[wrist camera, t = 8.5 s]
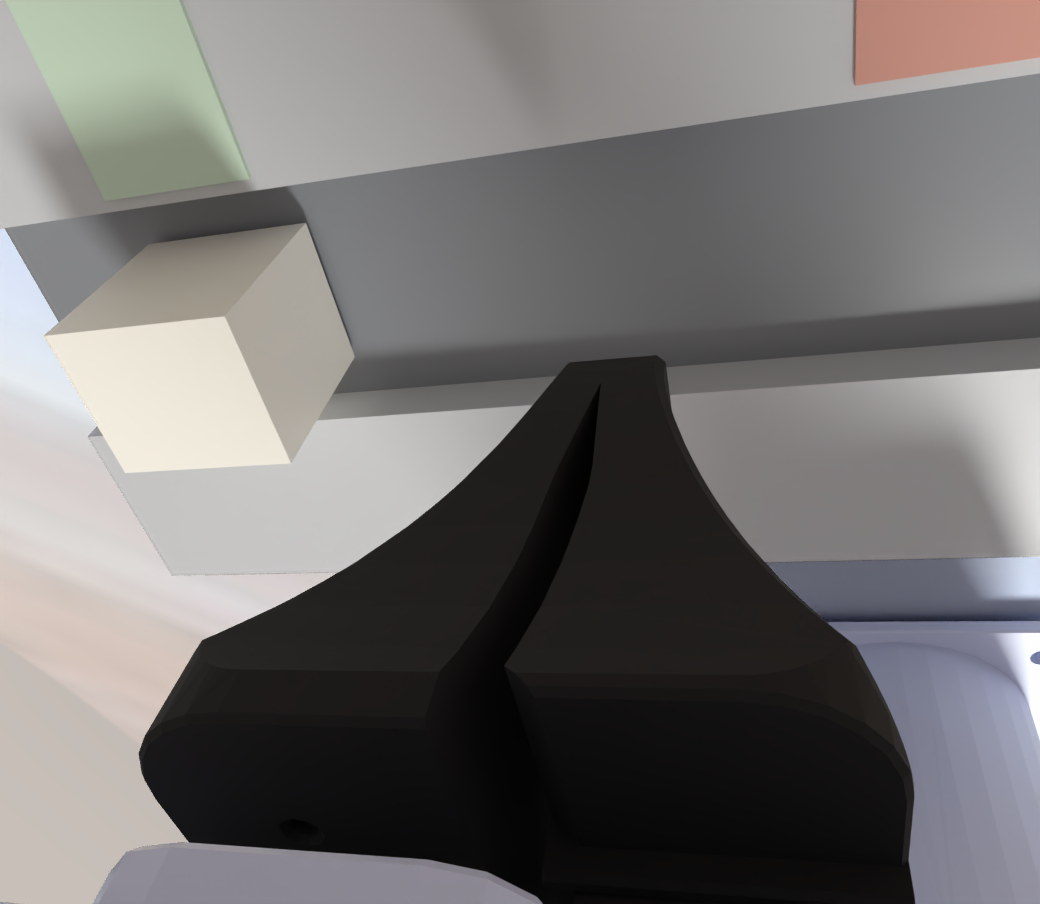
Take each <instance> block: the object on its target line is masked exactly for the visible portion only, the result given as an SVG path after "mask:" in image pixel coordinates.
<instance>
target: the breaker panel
mask: <svg viewBox="0 0 1040 904" xmlns="http://www.w3.org/2000/svg"><path fill="white" fill-rule="evenodd" d="M300 223H306V224H307V227H308V230H309V233H310V235H311V238H312V241H313V243H314V246H315V249H316V252H317V254H318V257H319V260H320V263H321V265H322V268H323V271H324V274H325V276H326V279H327V282H328V285H329V287H330V290H331V293H332V295H333V298H334V301H335V304H336V306H337V309H338V312H339V315H340V317H341V320H342V323H343V326H344V328H345V331H346V334H347V336H348V339H349V342H350V345H351V347H352V350H353V353H354V356H355V357H354V359H353V361H352V362H351V364H350V366H349V367H348V369H347V371H346V372H345V374H344V376H343V377H342V379H341V381H340V382H339V384H338V386H337V387H336V389H335V391H334V393H333V394H332V396H331V398H330V399H329V401H328V403H327V404H326V406H325V408H324V409H323V411H322V413H321V414H320V416H319V418H318V419H317V421H316V423H315V424H314V426H313V428H312V429H311V431H310V433H309V434H308V436H307V438H306V439H305V441H304V443H303V444H302V446H301V448H300V449H299V451H298V453H297V454H296V456H295V458H294V459H293V461H292V463H290V464H273V465H256V466H238V467H221V468H204V469H187V470H170V471H153V472H135V473H125V472H124V470H123V469H122V467H121V465H120V464H119V462H118V460H117V459H116V457H115V455H114V453H113V452H112V450H111V448H110V447H109V445H108V443H107V442H106V440H105V438H104V437H103V435H102V433H101V432H100V430H99V428H98V427H96V428H95V429H94V430H93V432H92V433H91V434H90V435H89V436H88V438H89V440H90V442H91V443H92V445H93V447H94V448H95V450H96V452H97V453H98V455H99V457H100V458H101V460H102V462H103V463H104V465H105V466H106V468H107V470H108V471H109V473H110V475H111V476H112V478H113V480H114V481H115V483H116V485H117V486H118V488H119V489H120V491H121V493H122V494H123V496H124V498H125V499H126V501H127V503H128V504H129V506H130V508H131V509H132V511H133V512H134V514H135V516H136V517H137V519H138V521H139V522H140V524H141V526H142V527H143V529H144V531H145V532H146V534H147V535H148V537H149V539H150V540H151V542H152V544H153V545H154V547H155V549H156V550H157V552H158V554H159V555H160V557H161V559H162V560H163V562H164V563H165V565H166V567H167V568H168V570H169V572H170V573H171V575H172V576H179V575H236V574H281V573H326V572H340V571H342V570H343V569H345V568H347V567H348V566H350V565H352V564H353V563H355V562H356V561H358V560H359V559H361V558H362V557H364V556H365V555H367V554H368V553H370V552H371V551H373V550H374V549H375V548H377V547H378V546H380V545H381V544H383V543H384V542H386V541H387V540H389V539H390V538H391V537H393V536H394V535H396V534H397V533H399V532H400V531H402V530H403V529H405V528H406V527H407V526H409V525H410V524H411V523H412V522H414V521H415V520H416V519H418V518H419V517H420V516H421V515H423V514H424V513H425V512H426V511H428V510H429V509H430V508H431V507H432V506H434V505H435V504H436V503H437V502H439V501H440V500H441V499H442V498H443V497H444V496H446V495H447V494H448V493H449V492H450V491H451V490H452V489H454V488H455V487H456V486H457V485H458V484H459V483H460V482H461V481H462V480H463V479H464V478H465V477H466V476H467V475H468V474H469V473H470V472H471V471H472V470H473V469H474V468H475V467H476V466H477V465H478V464H479V463H480V462H481V461H482V460H483V459H484V458H485V457H486V456H487V455H488V454H489V453H490V452H491V451H492V450H493V449H494V448H495V447H496V446H497V445H498V444H499V443H500V442H501V441H502V440H503V439H504V437H505V436H506V435H507V434H508V433H509V432H510V431H511V430H512V428H513V427H514V426H515V425H516V424H517V423H518V422H519V420H520V419H521V418H522V417H523V416H524V415H525V414H526V412H527V411H528V410H529V409H530V408H531V406H532V405H533V404H534V403H535V402H536V400H537V399H538V398H539V397H540V396H541V394H542V393H543V392H544V391H545V390H546V388H547V387H548V386H549V385H550V384H551V382H552V381H553V380H554V379H555V378H556V377H557V375H558V374H559V373H560V372H561V371H562V370H563V369H564V367H565V366H566V365H567V364H568V363H569V362H580V361H592V360H604V359H616V358H628V357H640V356H652V355H657V356H658V357H660V358H661V359H662V360H664V361H665V362H666V368H667V376H668V384H669V392H670V400H671V408H672V413H673V416H674V418H675V421H676V423H677V426H678V428H679V430H680V433H681V435H682V438H683V440H684V443H685V445H686V447H687V449H688V451H689V453H690V455H691V457H692V459H693V461H694V463H695V465H696V466H697V468H698V470H699V472H700V474H701V476H702V477H703V479H704V481H705V483H706V484H707V486H708V488H709V489H710V491H711V493H712V494H713V496H714V497H715V499H716V500H717V502H718V503H719V505H720V506H721V508H722V509H723V511H724V512H725V514H726V515H727V516H728V518H729V519H730V520H731V522H732V523H733V524H734V526H735V527H736V528H737V530H738V531H739V532H740V534H741V535H742V536H743V538H744V539H745V540H746V541H747V543H748V544H749V545H750V546H751V547H752V548H753V549H754V550H755V552H756V553H757V554H758V555H759V556H760V557H761V558H762V559H763V560H764V562H765V563H776V562H821V561H866V560H911V559H955V558H1000V557H1040V0H0V229H2V228H5V230H6V232H7V233H8V235H9V237H10V238H11V240H12V242H13V244H14V245H15V247H16V249H17V251H18V252H19V254H20V256H21V257H22V259H23V261H24V263H25V264H26V266H27V268H28V270H29V271H30V273H31V275H32V277H33V278H34V280H35V282H36V283H37V285H38V287H39V289H40V290H41V292H42V294H43V296H44V297H45V299H46V301H47V303H48V304H49V306H50V308H51V309H52V311H53V313H54V315H55V316H56V318H57V320H58V322H60V321H61V320H63V319H64V318H65V317H66V316H67V315H68V314H69V313H71V312H72V311H73V310H74V309H75V308H76V307H77V306H79V305H80V304H81V303H82V302H83V301H84V300H85V299H87V298H88V297H89V296H90V295H91V294H92V293H93V292H95V291H96V290H97V289H98V288H99V287H100V286H102V285H103V284H104V283H105V282H106V281H107V280H108V279H110V278H111V277H112V276H113V275H114V274H115V273H116V272H118V271H119V270H120V269H121V268H122V267H123V266H124V265H126V264H127V263H128V262H129V261H130V260H131V259H132V258H134V257H135V256H136V255H137V254H138V253H139V252H140V251H142V250H143V249H144V248H145V247H146V246H147V245H149V244H154V243H161V242H169V241H176V240H183V239H190V238H198V237H205V236H212V235H220V234H227V233H234V232H242V231H249V230H256V229H264V228H271V227H278V226H286V225H293V224H300Z"/></svg>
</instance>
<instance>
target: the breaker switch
mask: <svg viewBox="0 0 1040 904" xmlns="http://www.w3.org/2000/svg"><path fill="white" fill-rule="evenodd" d="M44 338H45V339H46V341H47V343H48V344H49V346H50V348H51V349H52V351H53V353H54V354H55V356H56V358H57V359H58V361H59V363H60V364H61V366H62V368H63V369H64V371H65V373H66V374H67V376H68V378H69V380H70V381H71V383H72V385H73V386H74V388H75V390H76V391H77V393H78V395H79V396H80V398H81V400H82V401H83V403H84V405H85V406H86V408H87V410H88V411H89V413H90V415H91V417H92V418H93V420H94V422H95V423H96V425H97V427H98V428H99V430H100V432H101V433H102V435H103V437H104V438H105V440H106V442H107V443H108V445H109V447H110V448H111V450H112V452H113V453H114V455H115V457H116V459H117V460H118V462H119V464H120V465H121V467H122V469H123V470H124V472H125V473H135V472H153V471H170V470H187V469H204V468H221V467H238V466H256V465H273V464H290V463H292V461H293V459H294V458H295V456H296V454H297V453H298V451H299V449H300V448H301V446H302V444H303V443H304V441H305V439H306V438H307V436H308V434H309V433H310V431H311V429H312V428H313V426H314V424H315V423H316V421H317V419H318V418H319V416H320V414H321V413H322V411H323V409H324V408H325V406H326V404H327V403H328V401H329V399H330V398H331V396H332V394H333V393H334V391H335V389H336V387H337V386H338V384H339V382H340V381H341V379H342V377H343V376H344V374H345V372H346V371H347V369H348V367H349V366H350V364H351V362H352V361H353V359H354V357H355V356H354V353H353V350H352V347H351V345H350V342H349V339H348V336H347V334H346V331H345V328H344V326H343V323H342V320H341V317H340V315H339V312H338V309H337V306H336V304H335V301H334V298H333V295H332V293H331V290H330V287H329V285H328V282H327V279H326V276H325V274H324V271H323V268H322V265H321V263H320V260H319V257H318V254H317V252H316V249H315V246H314V243H313V241H312V238H311V235H310V233H309V230H308V227H307V224H306V223H300V224H293V225H286V226H278V227H271V228H264V229H256V230H249V231H242V232H234V233H227V234H220V235H212V236H205V237H198V238H190V239H183V240H176V241H169V242H161V243H154V244H149V245H147V246H146V247H145V248H144V249H143V250H142V251H140V252H139V253H138V254H137V255H136V256H135V257H134V258H132V259H131V260H130V261H129V262H128V263H127V264H126V265H124V266H123V267H122V268H121V269H120V270H119V271H118V272H116V273H115V274H114V275H113V276H112V277H111V278H110V279H108V280H107V281H106V282H105V283H104V284H103V285H102V286H100V287H99V288H98V289H97V290H96V291H95V292H93V293H92V294H91V295H90V296H89V297H88V298H87V299H85V300H84V301H83V302H82V303H81V304H80V305H79V306H77V307H76V308H75V309H74V310H73V311H72V312H71V313H69V314H68V315H67V316H66V317H65V318H64V319H63V320H61V321H60V322H59V323H58V324H57V325H56V326H54V327H53V328H52V329H51V330H50V331H49V332H48V333H46V334H45V335H44Z"/></svg>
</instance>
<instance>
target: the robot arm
mask: <svg viewBox="0 0 1040 904" xmlns="http://www.w3.org/2000/svg"><path fill="white" fill-rule="evenodd" d="M139 759H140V764H141V771H142V774H143V777H144V779H145V781H146V783H147V785H148V787H149V788H150V790H151V792H152V793H153V795H154V797H155V799H156V800H157V801H158V803H159V804H160V805H161V807H162V808H163V809H164V810H165V812H166V813H167V814H168V816H169V817H170V818H171V819H172V821H173V822H174V823H175V825H176V826H177V827H178V829H179V830H180V831H181V833H182V834H183V835H184V836H185V838H186V839H187V840H188V842H189V843H187V842H186V843H185V842H179V843H170V844H161V845H152V846H143V847H139V848H137V849H134V850H131V851H128V852H126V853H125V854H124V856H123V857H122V858H121V859H120V861H119V862H118V863H117V864H116V866H115V867H114V868H113V869H112V870H111V871H110V873H109V875H108V877H107V878H106V880H105V882H104V884H103V886H102V887H101V890H100V891H99V893H98V895H97V897H96V899H95V900H94V902H93V904H1040V621H922V622H826V621H825V620H824V619H823V618H821V617H820V616H819V615H818V614H817V613H816V612H814V611H813V610H812V609H811V608H810V607H809V606H808V605H807V604H805V603H804V602H803V601H802V600H801V599H800V598H799V597H798V596H797V595H796V594H795V593H794V592H793V591H792V590H791V589H790V588H789V587H788V586H787V585H786V584H785V583H784V582H783V581H781V579H780V578H779V577H778V576H777V575H776V574H775V573H774V572H773V570H772V569H771V568H770V567H769V566H768V565H767V564H766V563H765V562H764V560H763V559H762V558H761V557H760V556H759V555H758V554H757V553H756V552H755V550H754V549H753V548H752V547H751V546H750V545H749V544H748V543H747V541H746V540H745V539H744V538H743V536H742V535H741V534H740V532H739V531H738V530H737V528H736V527H735V526H734V524H733V523H732V522H731V520H730V519H729V518H728V516H727V515H726V514H725V512H724V511H723V509H722V508H721V506H720V505H719V503H718V502H717V500H716V499H715V497H714V496H713V494H712V493H711V491H710V489H709V488H708V486H707V484H706V483H705V481H704V479H703V477H702V476H701V474H700V472H699V470H698V468H697V466H696V465H695V463H694V461H693V459H692V457H691V455H690V453H689V451H688V449H687V447H686V445H685V443H684V440H683V438H682V435H681V433H680V430H679V428H678V426H677V423H676V421H675V418H674V416H673V413H672V408H671V400H670V392H669V384H668V376H667V368H666V362H665V361H664V360H662V359H661V358H660V357H658V356H657V355H652V356H640V357H628V358H616V359H604V360H592V361H580V362H569V363H568V364H567V365H566V366H565V367H564V369H563V370H562V371H561V372H560V373H559V374H558V375H557V377H556V378H555V379H554V380H553V381H552V382H551V384H550V385H549V386H548V387H547V388H546V390H545V391H544V392H543V393H542V394H541V396H540V397H539V398H538V399H537V400H536V402H535V403H534V404H533V405H532V406H531V408H530V409H529V410H528V411H527V412H526V414H525V415H524V416H523V417H522V418H521V419H520V420H519V422H518V423H517V424H516V425H515V426H514V427H513V428H512V430H511V431H510V432H509V433H508V434H507V435H506V436H505V437H504V439H503V440H502V441H501V442H500V443H499V444H498V445H497V446H496V447H495V448H494V449H493V450H492V451H491V452H490V453H489V454H488V455H487V456H486V457H485V458H484V459H483V460H482V461H481V462H480V463H479V464H478V465H477V466H476V467H475V468H474V469H473V470H472V471H471V472H470V473H469V474H468V475H467V476H466V477H465V478H464V479H463V480H462V481H461V482H460V483H459V484H458V485H457V486H456V487H455V488H454V489H452V490H451V491H450V492H449V493H448V494H447V495H446V496H444V497H443V498H442V499H441V500H440V501H439V502H437V503H436V504H435V505H434V506H432V507H431V508H430V509H429V510H428V511H426V512H425V513H424V514H423V515H421V516H420V517H419V518H418V519H416V520H415V521H414V522H412V523H411V524H410V525H409V526H407V527H406V528H405V529H403V530H402V531H400V532H399V533H397V534H396V535H394V536H393V537H391V538H390V539H389V540H387V541H386V542H384V543H383V544H381V545H380V546H378V547H377V548H375V549H374V550H373V551H371V552H370V553H368V554H367V555H365V556H364V557H362V558H361V559H359V560H358V561H356V562H355V563H353V564H352V565H350V566H348V567H347V568H345V569H343V570H342V571H340V572H338V573H337V574H335V575H333V576H332V577H330V578H328V579H327V580H325V581H323V582H321V583H320V584H318V585H316V586H314V587H312V588H310V589H309V590H307V591H305V592H303V593H301V594H299V595H298V596H296V597H294V598H292V599H290V600H288V601H286V602H284V603H282V604H280V605H278V606H276V607H274V608H272V609H270V610H268V611H266V612H264V613H261V614H259V615H257V616H255V617H253V618H251V619H248V620H246V621H244V622H242V623H240V624H238V625H235V626H233V627H231V628H229V629H227V630H225V631H222V632H220V633H218V634H216V635H213V636H211V637H209V638H206V639H204V640H202V641H201V643H200V644H199V646H198V648H197V649H196V651H195V652H194V654H193V656H192V657H191V659H190V661H189V662H188V664H187V666H186V667H185V669H184V671H183V673H182V674H181V676H180V678H179V679H178V681H177V683H176V684H175V686H174V688H173V689H172V691H171V693H170V694H169V696H168V698H167V700H166V701H165V703H164V705H163V706H162V708H161V710H160V711H159V713H158V715H157V716H156V718H155V720H154V722H153V723H152V725H151V727H150V728H149V730H148V732H147V733H146V735H145V737H144V740H143V743H142V745H141V748H140V751H139ZM0 904H16V903H7V902H0Z"/></svg>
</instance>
